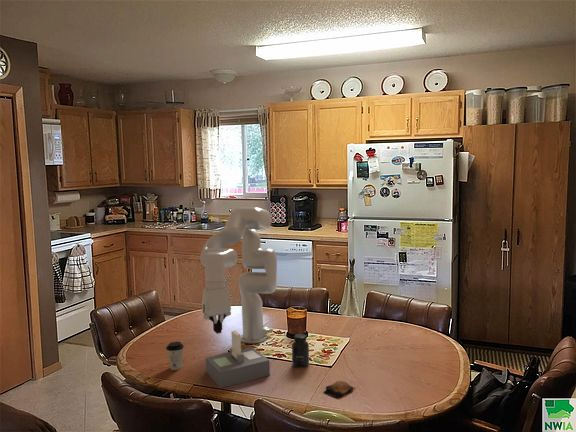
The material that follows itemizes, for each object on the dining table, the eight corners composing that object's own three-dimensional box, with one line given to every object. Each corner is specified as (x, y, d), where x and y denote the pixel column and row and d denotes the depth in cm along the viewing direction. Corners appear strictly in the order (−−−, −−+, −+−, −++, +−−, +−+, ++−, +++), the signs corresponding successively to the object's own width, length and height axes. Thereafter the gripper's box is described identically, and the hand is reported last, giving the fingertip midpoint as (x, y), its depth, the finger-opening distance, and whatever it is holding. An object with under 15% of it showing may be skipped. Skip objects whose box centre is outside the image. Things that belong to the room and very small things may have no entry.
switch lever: (237, 355, 192) (236, 330, 191) (242, 359, 188) (241, 334, 186) (231, 356, 191) (230, 331, 190) (236, 361, 186) (235, 335, 185)
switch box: (252, 360, 202) (251, 339, 201) (269, 375, 188) (268, 352, 187) (206, 372, 192) (205, 350, 191) (220, 388, 178) (219, 364, 177)
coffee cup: (176, 372, 193) (174, 348, 192) (163, 369, 196) (162, 345, 195) (188, 366, 199) (187, 342, 198) (176, 362, 202) (174, 339, 201)
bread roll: (338, 383, 180) (338, 374, 180) (357, 390, 174) (357, 380, 174) (320, 394, 172) (319, 384, 172) (339, 401, 166) (338, 391, 166)
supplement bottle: (297, 369, 192) (296, 340, 191) (289, 363, 198) (288, 334, 197) (312, 365, 195) (311, 336, 194) (304, 359, 201) (303, 331, 200)
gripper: (230, 280, 189) (232, 326, 191) (193, 285, 182) (195, 333, 184) (238, 284, 183) (240, 331, 184) (199, 289, 176) (202, 339, 177)
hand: (218, 332), depth 184 cm, fingers closed
